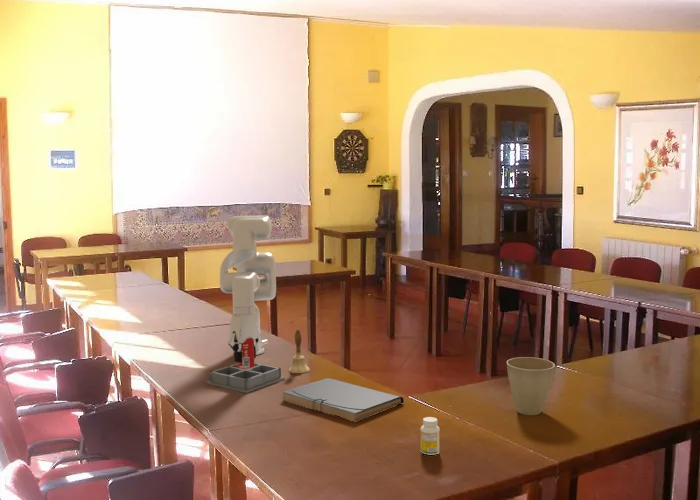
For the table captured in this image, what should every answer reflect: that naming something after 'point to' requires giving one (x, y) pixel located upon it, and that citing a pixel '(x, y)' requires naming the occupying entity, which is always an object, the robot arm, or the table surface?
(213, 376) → the drink carrier
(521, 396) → the plant pot
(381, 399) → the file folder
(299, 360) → the hand bell
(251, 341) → the beverage can
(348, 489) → the table surface
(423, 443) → the supplement bottle
